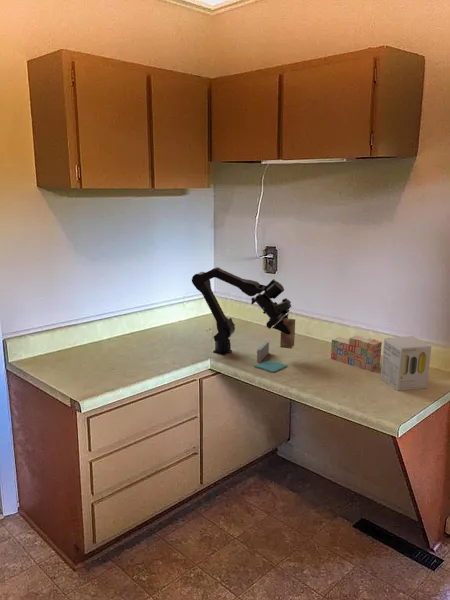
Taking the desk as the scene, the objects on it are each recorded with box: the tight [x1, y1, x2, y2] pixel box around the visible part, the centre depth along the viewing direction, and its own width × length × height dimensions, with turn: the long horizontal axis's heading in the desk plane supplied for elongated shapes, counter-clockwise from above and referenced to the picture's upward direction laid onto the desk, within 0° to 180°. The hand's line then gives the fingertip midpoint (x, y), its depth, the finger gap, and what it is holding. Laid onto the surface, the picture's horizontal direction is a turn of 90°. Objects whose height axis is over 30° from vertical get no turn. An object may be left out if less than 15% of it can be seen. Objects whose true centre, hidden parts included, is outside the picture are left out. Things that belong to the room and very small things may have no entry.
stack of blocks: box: [330, 334, 383, 373], centre depth 236 cm, size 21×6×12 cm, turn 43°
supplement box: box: [380, 335, 432, 391], centre depth 214 cm, size 13×13×18 cm
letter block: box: [279, 317, 296, 350], centre depth 237 cm, size 5×5×12 cm
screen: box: [256, 341, 270, 363], centre depth 243 cm, size 2×13×6 cm, turn 159°
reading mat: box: [254, 359, 288, 374], centre depth 232 cm, size 10×10×1 cm
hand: (290, 332), depth 237 cm, fingers closed on letter block, 5 cm apart
